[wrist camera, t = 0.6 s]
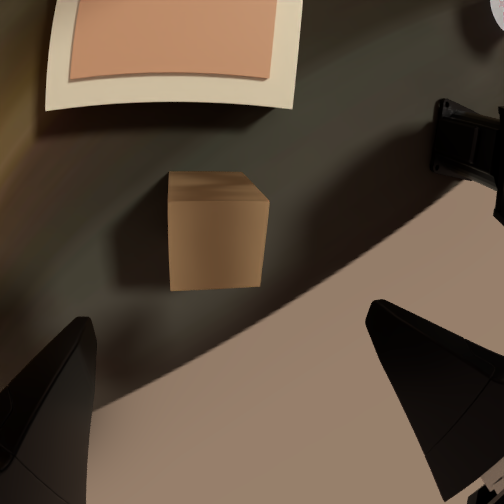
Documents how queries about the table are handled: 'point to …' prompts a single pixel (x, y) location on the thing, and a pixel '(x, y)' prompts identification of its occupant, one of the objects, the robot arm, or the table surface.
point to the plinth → (173, 52)
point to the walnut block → (215, 230)
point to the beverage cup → (498, 11)
